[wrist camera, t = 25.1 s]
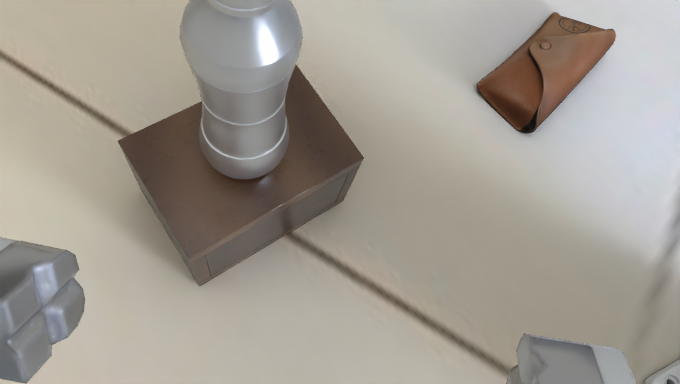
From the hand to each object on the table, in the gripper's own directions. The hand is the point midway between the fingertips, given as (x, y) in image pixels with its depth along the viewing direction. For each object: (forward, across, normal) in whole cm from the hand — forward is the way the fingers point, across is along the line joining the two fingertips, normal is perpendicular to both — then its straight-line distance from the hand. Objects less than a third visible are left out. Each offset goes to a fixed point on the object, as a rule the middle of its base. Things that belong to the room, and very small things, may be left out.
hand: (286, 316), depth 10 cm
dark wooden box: (+36, +14, +19) cm, 43 cm away
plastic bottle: (+30, +11, +12) cm, 34 cm away
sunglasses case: (+59, -15, +10) cm, 62 cm away
